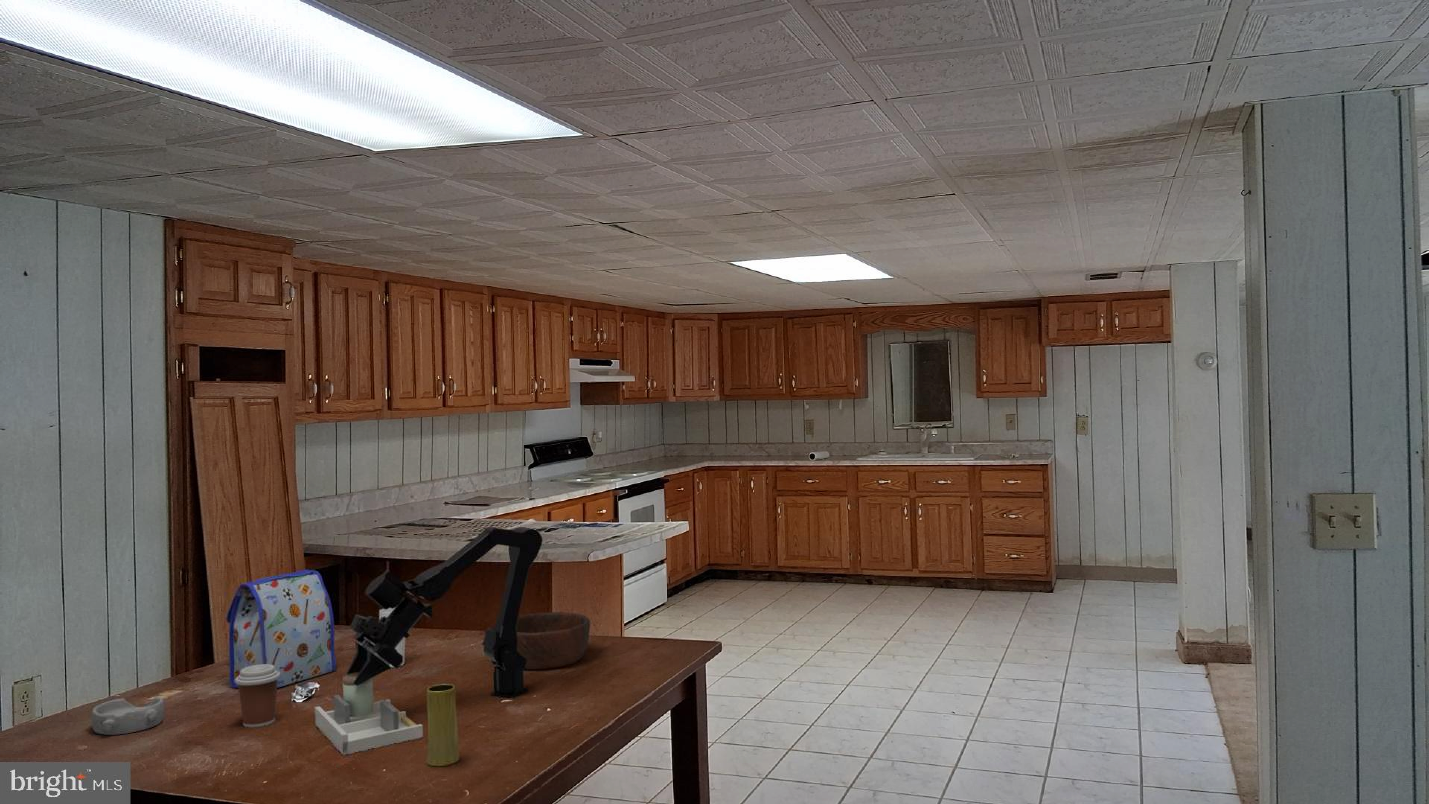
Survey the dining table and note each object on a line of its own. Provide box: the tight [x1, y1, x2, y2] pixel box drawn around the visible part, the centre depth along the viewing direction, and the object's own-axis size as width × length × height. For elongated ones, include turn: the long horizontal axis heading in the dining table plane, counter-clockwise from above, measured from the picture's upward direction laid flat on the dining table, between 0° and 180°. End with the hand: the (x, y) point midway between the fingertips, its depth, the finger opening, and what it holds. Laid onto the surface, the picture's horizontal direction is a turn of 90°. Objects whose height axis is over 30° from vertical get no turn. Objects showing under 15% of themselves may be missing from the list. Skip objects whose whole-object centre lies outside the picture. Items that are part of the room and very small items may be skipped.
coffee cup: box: [235, 664, 280, 728], centre depth 215 cm, size 9×9×12 cm
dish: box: [90, 696, 165, 736], centre depth 215 cm, size 14×14×5 cm
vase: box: [426, 683, 460, 767], centre depth 188 cm, size 6×6×14 cm
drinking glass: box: [378, 608, 406, 669], centre depth 258 cm, size 7×7×15 cm
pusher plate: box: [333, 694, 350, 725], centre depth 209 cm, size 1×9×5 cm, turn 35°
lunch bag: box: [225, 569, 337, 689], centre depth 249 cm, size 23×17×27 cm
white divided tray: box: [314, 698, 424, 756], centre depth 207 cm, size 16×23×6 cm
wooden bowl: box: [516, 611, 591, 671], centre depth 260 cm, size 25×25×10 cm
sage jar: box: [342, 672, 374, 717], centre depth 211 cm, size 6×6×8 cm
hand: (351, 681), depth 210 cm, fingers closed on sage jar, 6 cm apart
